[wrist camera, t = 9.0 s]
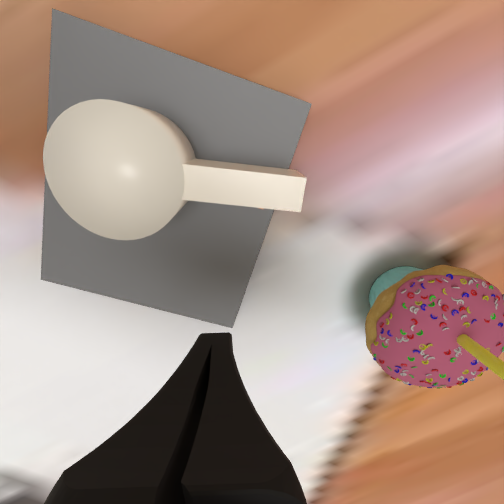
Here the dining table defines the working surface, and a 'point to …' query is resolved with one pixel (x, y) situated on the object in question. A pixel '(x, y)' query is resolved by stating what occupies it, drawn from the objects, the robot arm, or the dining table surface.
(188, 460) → the robot arm
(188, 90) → the post board
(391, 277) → the cupcake
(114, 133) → the cream ball joystick
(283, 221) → the dining table surface
